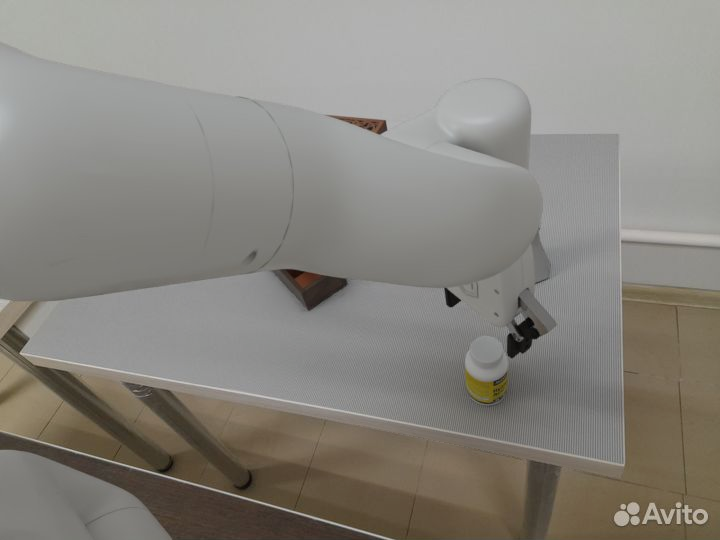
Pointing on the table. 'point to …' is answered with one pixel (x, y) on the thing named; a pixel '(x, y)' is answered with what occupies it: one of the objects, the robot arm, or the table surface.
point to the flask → (540, 259)
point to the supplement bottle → (486, 371)
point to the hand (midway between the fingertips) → (487, 323)
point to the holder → (310, 285)
